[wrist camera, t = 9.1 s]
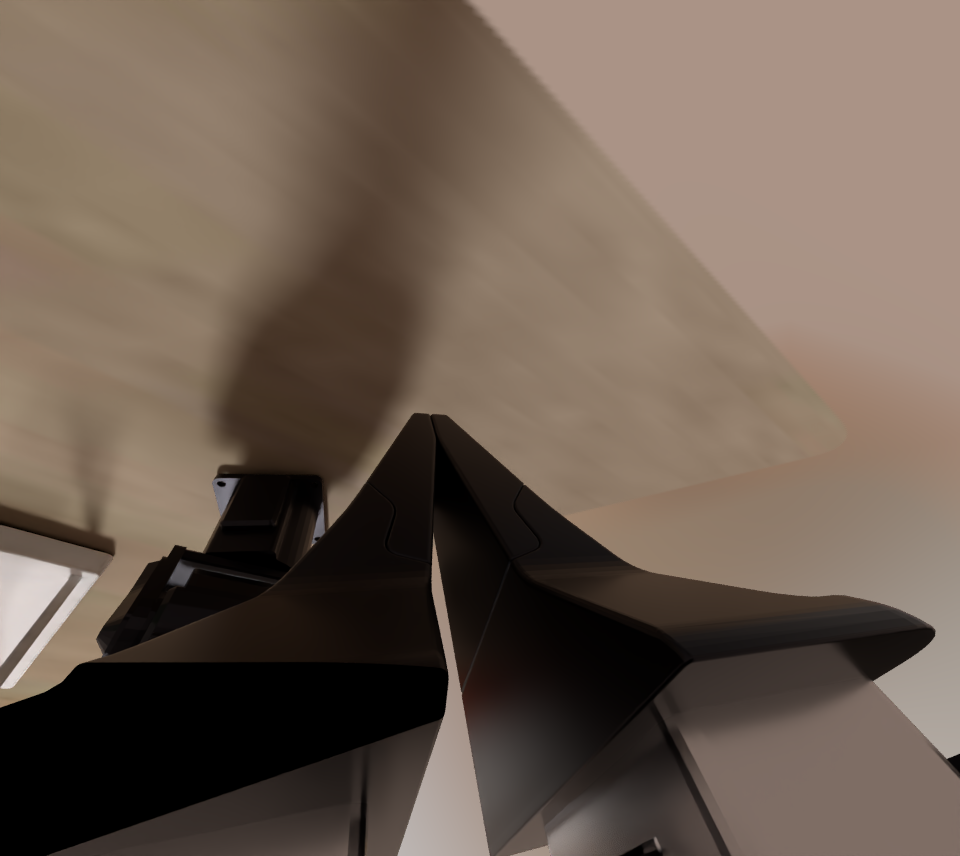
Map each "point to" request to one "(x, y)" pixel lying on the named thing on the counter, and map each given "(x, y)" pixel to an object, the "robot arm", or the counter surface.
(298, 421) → the counter surface
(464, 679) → the robot arm
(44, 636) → the file sorter
